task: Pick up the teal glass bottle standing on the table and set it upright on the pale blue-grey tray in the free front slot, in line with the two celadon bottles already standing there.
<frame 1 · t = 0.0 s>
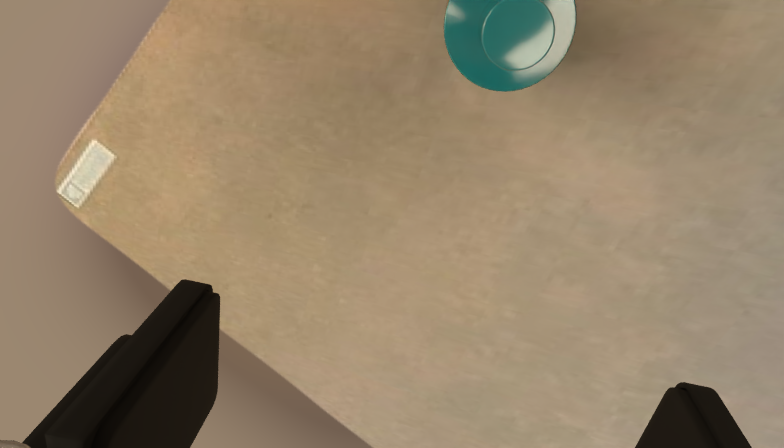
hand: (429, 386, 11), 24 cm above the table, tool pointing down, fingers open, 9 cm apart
loose bottle: (490, 8, 30), on the table
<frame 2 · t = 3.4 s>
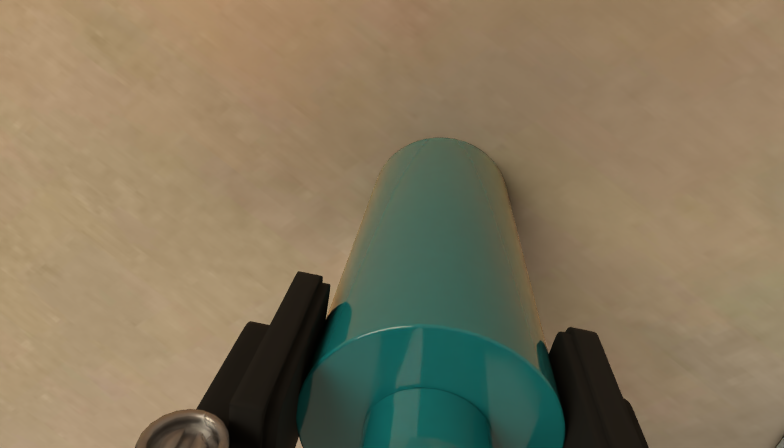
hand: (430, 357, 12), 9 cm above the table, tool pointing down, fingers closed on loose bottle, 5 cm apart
loose bottle: (439, 201, 19), on the table, touching gripper
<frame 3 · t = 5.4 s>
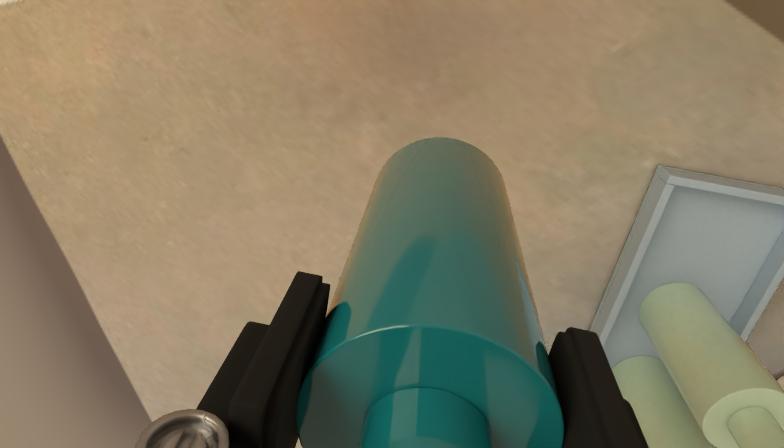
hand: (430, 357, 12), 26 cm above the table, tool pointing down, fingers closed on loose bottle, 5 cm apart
bottle a: (672, 310, 39), point 1 cm above the table, touching tray
loose bottle: (438, 201, 19), point 17 cm above the table, touching gripper
tray: (669, 305, 40), on the table
bottle b: (638, 379, 42), point 1 cm above the table, touching tray
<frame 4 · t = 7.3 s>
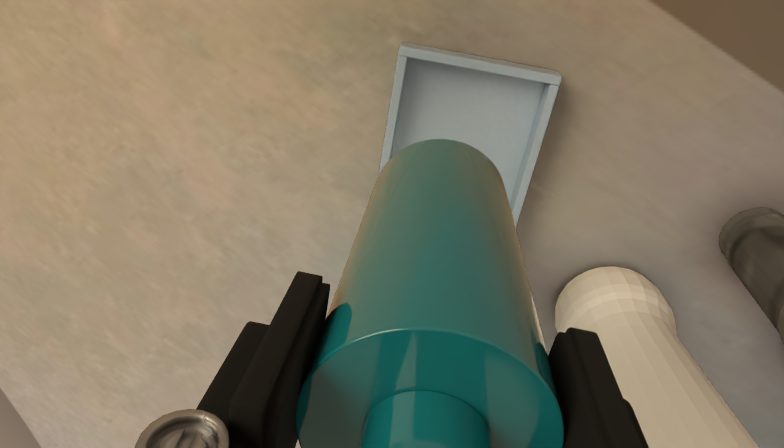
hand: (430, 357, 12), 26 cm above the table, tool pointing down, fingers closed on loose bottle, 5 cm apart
beverage cup: (751, 234, 37), on the table
loose bottle: (438, 202, 19), point 18 cm above the table, touching gripper
tray: (445, 202, 38), on the table
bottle: (603, 303, 41), on the table
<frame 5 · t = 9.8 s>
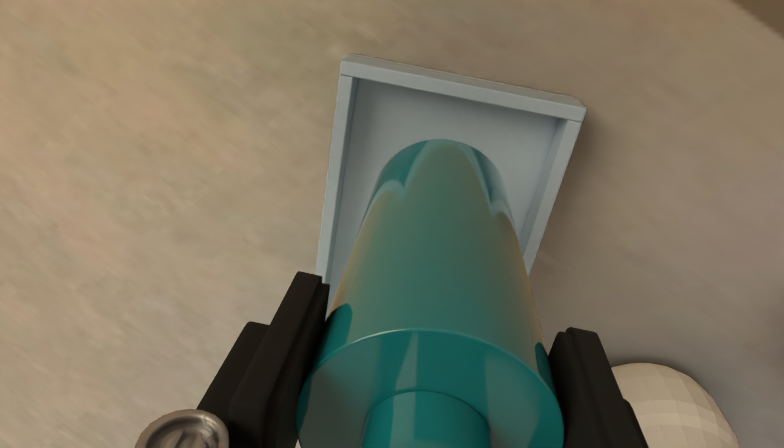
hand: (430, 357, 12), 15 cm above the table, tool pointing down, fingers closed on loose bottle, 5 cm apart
loose bottle: (439, 203, 19), point 6 cm above the table, touching gripper
tray: (417, 274, 28), on the table
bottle: (632, 407, 30), on the table
when the fingers open (9 cm above the table, at t = 11.5 s): loose bottle stays where it is, resting on tray.
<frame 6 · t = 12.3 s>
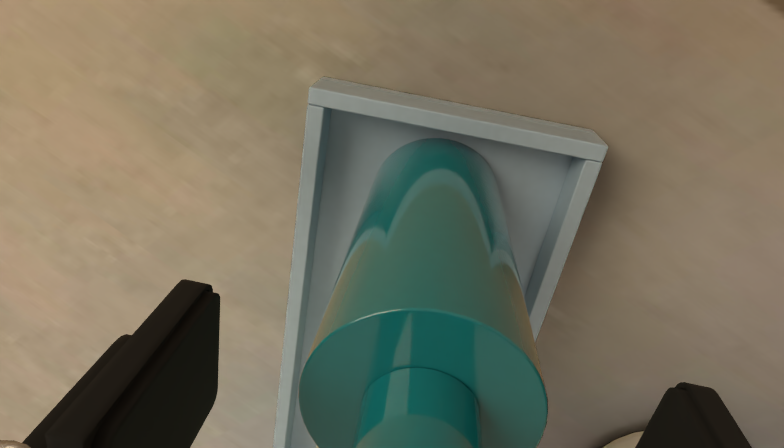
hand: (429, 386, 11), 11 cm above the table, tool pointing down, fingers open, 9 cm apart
loose bottle: (434, 199, 20), point 1 cm above the table, touching tray
tray: (405, 329, 24), on the table
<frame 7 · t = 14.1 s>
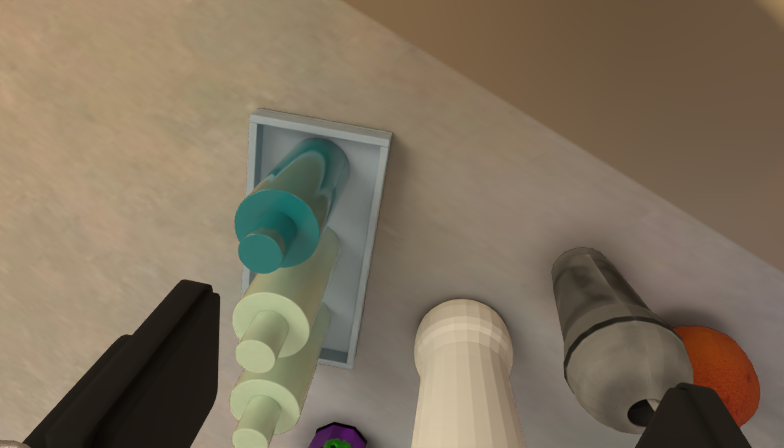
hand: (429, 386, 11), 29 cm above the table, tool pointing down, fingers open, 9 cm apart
bottle a: (310, 247, 43), point 1 cm above the table, touching tray
beverage cup: (579, 270, 42), on the table
loose bottle: (318, 169, 40), point 1 cm above the table, touching tray
tray: (312, 243, 43), on the table
bottle b: (303, 316, 46), point 1 cm above the table, touching tray
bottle: (461, 331, 46), on the table
potion bottle: (340, 441, 53), on the table
fruit: (671, 351, 45), on the table
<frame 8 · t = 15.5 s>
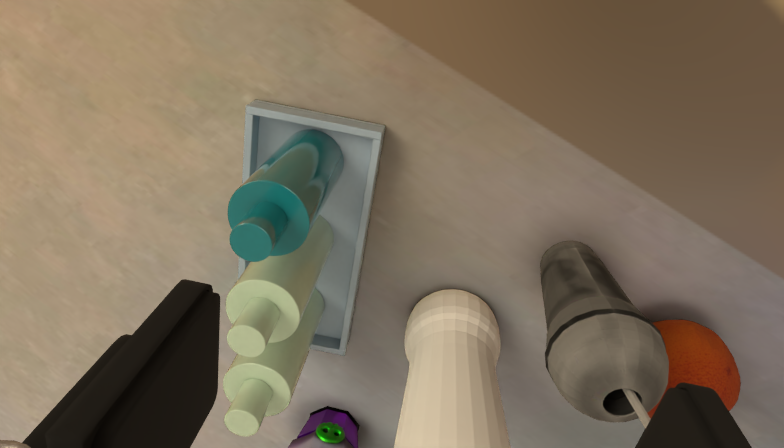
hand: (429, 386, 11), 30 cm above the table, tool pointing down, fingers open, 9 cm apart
bottle a: (305, 236, 44), point 1 cm above the table, touching tray
beverage cup: (567, 263, 43), on the table
loose bottle: (312, 160, 41), point 1 cm above the table, touching tray
tray: (306, 233, 44), on the table
bottle b: (297, 303, 47), point 1 cm above the table, touching tray
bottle: (452, 320, 47), on the table
potion bottle: (333, 425, 54), on the table
fruit: (657, 343, 46), on the table
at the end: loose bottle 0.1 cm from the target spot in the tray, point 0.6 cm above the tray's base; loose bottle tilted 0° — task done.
